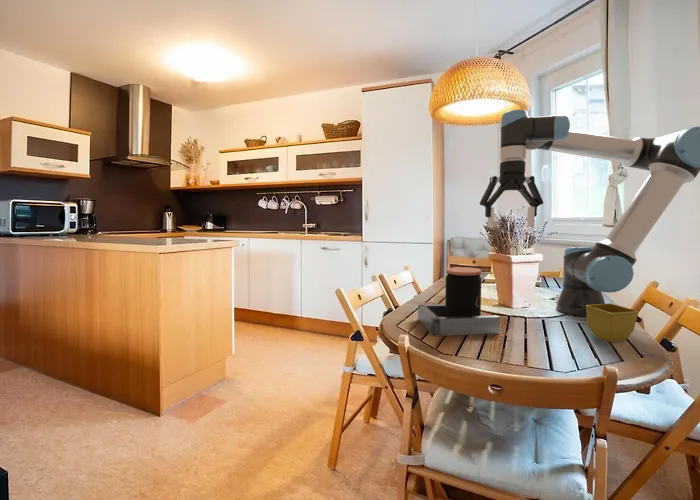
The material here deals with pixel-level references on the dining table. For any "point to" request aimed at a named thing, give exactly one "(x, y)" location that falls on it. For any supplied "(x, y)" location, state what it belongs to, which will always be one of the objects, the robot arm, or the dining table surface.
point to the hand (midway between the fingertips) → (510, 227)
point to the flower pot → (611, 321)
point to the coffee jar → (463, 292)
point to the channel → (456, 322)
